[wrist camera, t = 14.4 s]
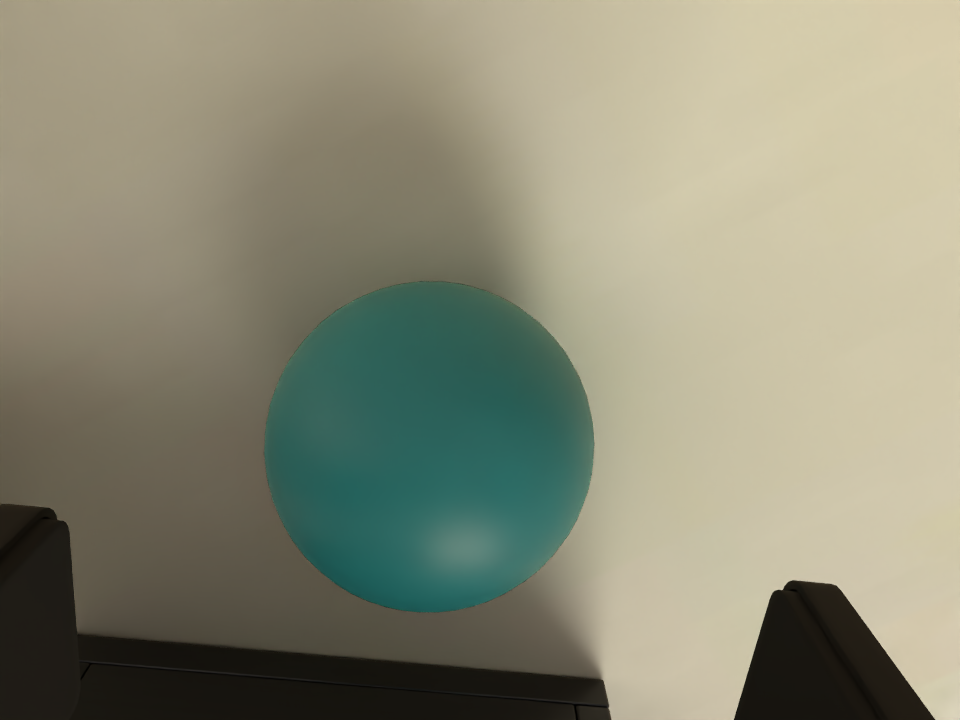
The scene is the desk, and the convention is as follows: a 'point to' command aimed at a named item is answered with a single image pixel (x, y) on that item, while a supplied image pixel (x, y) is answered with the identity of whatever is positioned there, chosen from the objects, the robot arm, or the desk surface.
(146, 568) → the desk surface
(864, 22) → the desk surface
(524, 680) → the black hollow box
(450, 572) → the ball
